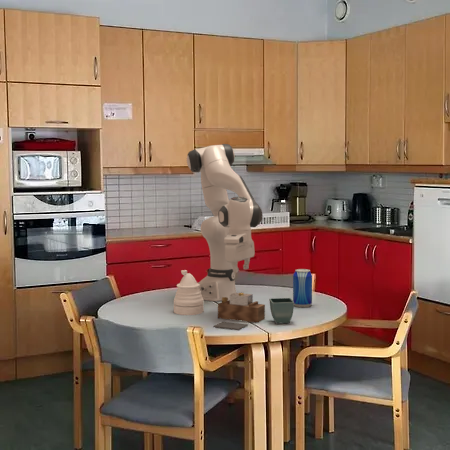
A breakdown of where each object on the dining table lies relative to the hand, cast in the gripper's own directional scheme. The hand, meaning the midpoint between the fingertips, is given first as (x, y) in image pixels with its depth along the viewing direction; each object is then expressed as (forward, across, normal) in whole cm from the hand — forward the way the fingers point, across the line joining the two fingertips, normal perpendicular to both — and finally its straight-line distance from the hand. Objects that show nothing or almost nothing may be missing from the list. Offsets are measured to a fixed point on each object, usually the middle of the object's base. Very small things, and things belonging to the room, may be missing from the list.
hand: (241, 270), depth 280 cm
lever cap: (+14, 0, 0) cm, 14 cm away
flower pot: (+20, -2, +17) cm, 26 cm away
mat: (+20, +14, +2) cm, 24 cm away
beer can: (+20, -34, +13) cm, 42 cm away
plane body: (+20, 0, 0) cm, 20 cm away
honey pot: (+20, -2, -26) cm, 33 cm away
